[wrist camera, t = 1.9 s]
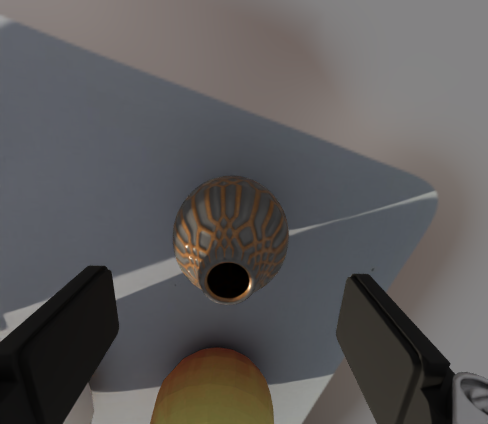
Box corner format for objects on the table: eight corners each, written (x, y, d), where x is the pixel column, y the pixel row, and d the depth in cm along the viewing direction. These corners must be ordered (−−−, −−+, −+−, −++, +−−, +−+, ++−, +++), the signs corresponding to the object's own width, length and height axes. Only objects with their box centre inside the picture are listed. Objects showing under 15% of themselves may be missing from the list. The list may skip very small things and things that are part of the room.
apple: (161, 329, 22) (120, 435, 14) (269, 327, 22) (285, 431, 15) (171, 404, 25) (142, 523, 18) (265, 402, 25) (277, 519, 18)
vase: (176, 178, 18) (119, 223, 9) (270, 159, 17) (300, 188, 9) (200, 260, 20) (172, 356, 11) (284, 245, 19) (317, 332, 11)
